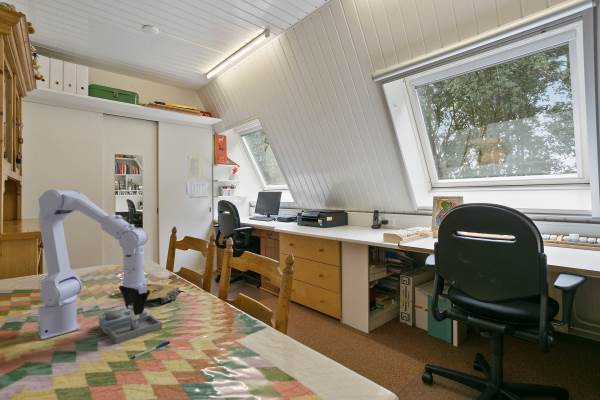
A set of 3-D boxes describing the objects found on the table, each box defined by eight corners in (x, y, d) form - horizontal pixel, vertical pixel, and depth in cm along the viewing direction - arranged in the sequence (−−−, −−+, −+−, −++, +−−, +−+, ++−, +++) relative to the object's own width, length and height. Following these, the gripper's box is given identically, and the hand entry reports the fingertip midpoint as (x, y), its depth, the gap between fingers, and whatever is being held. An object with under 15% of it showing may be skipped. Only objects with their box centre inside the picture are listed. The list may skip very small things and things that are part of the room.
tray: (115, 343, 85) (115, 337, 85) (106, 333, 91) (106, 327, 91) (161, 328, 95) (161, 322, 95) (150, 320, 101) (150, 314, 101)
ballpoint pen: (168, 343, 86) (168, 339, 86) (170, 344, 86) (170, 340, 86) (130, 359, 78) (130, 355, 78) (132, 360, 77) (132, 356, 77)
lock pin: (130, 333, 90) (130, 307, 90) (126, 329, 93) (126, 304, 93) (142, 329, 93) (142, 304, 93) (138, 325, 96) (138, 301, 95)
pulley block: (138, 274, 135) (186, 283, 121) (140, 286, 136) (187, 296, 122) (106, 287, 122) (156, 300, 109) (109, 300, 123) (158, 314, 110)
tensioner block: (105, 333, 91) (105, 318, 91) (99, 326, 96) (99, 312, 96) (146, 320, 100) (146, 307, 100) (138, 315, 105) (138, 302, 105)
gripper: (157, 269, 90) (157, 313, 91) (139, 261, 100) (139, 301, 100) (131, 273, 85) (132, 320, 86) (115, 265, 95) (115, 307, 95)
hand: (134, 310), depth 93 cm, fingers open, 6 cm apart
